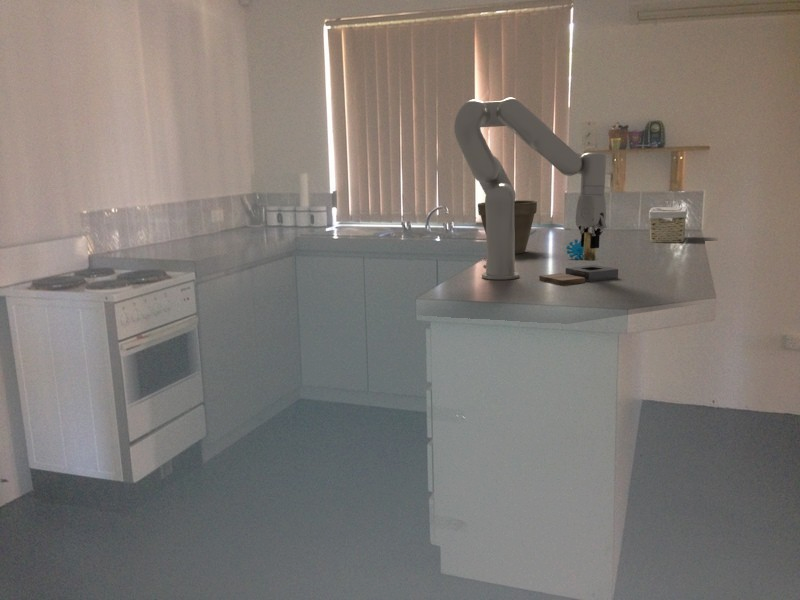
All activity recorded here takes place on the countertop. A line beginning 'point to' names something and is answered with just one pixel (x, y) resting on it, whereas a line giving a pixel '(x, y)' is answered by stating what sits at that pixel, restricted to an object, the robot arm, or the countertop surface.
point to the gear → (575, 249)
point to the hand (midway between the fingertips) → (589, 246)
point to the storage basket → (667, 224)
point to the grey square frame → (593, 272)
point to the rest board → (562, 279)
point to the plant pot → (517, 221)
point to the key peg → (588, 248)
